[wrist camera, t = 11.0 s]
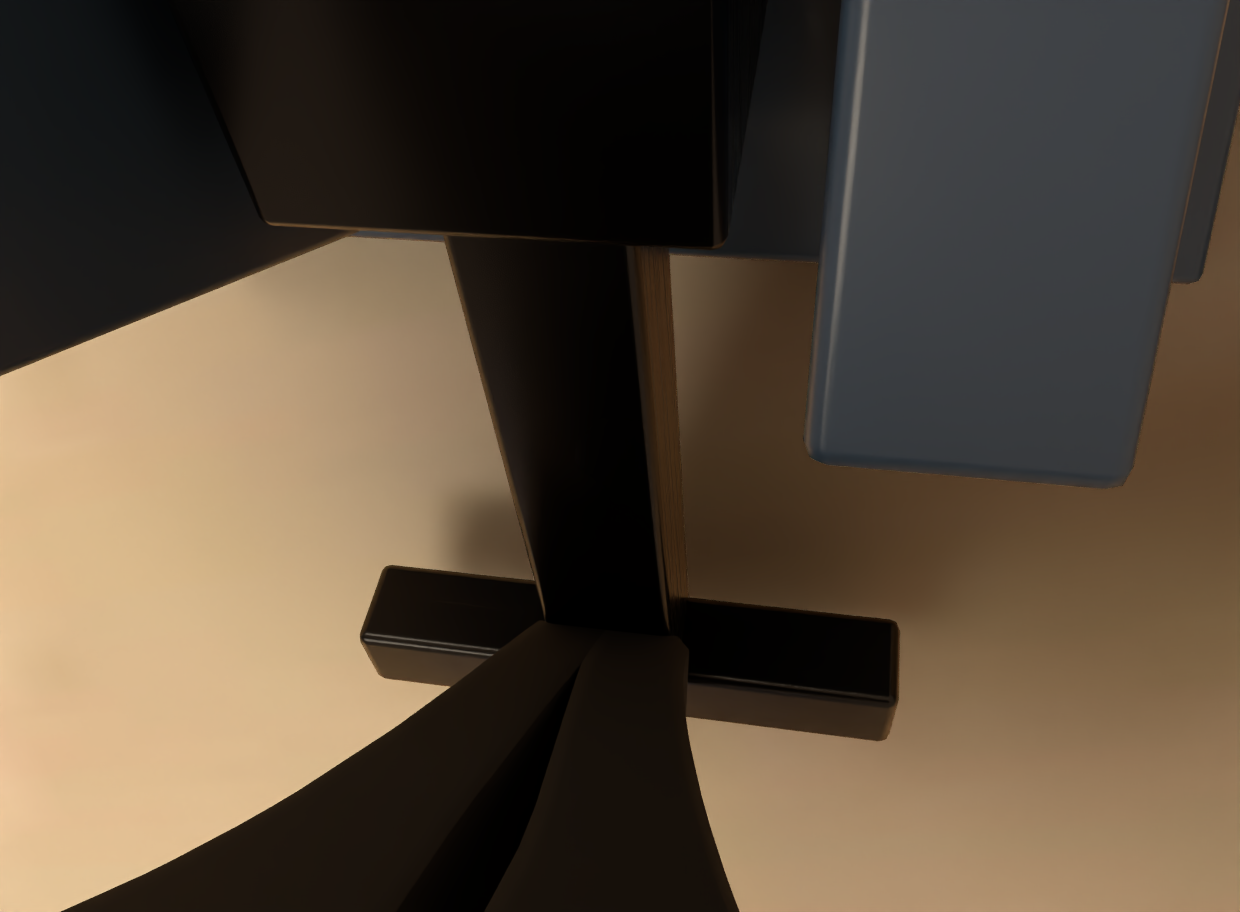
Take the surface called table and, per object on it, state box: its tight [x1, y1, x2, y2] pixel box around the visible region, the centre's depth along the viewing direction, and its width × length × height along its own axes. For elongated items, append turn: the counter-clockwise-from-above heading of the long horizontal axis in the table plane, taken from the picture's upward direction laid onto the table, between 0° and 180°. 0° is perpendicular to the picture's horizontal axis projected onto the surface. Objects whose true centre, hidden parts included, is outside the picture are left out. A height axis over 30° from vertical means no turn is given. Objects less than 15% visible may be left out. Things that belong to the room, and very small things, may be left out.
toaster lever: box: [166, 0, 900, 741], centre depth 7 cm, size 9×5×2 cm, turn 179°
